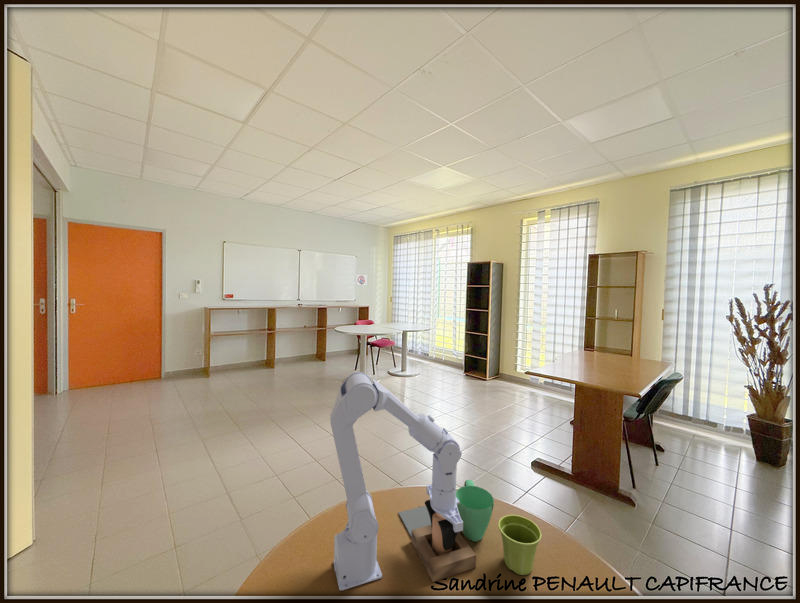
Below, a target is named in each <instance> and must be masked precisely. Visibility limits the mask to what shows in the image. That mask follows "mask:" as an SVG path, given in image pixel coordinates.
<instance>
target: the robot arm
mask: <svg viewBox="0 0 800 603" xmlns="http://www.w3.org/2000/svg"><path fill="white" fill-rule="evenodd" d="M372 382H373V383H372ZM335 399H336V400H335V402H334V404H333V407H332V409H331V412H330V416H329V417H330V418H329V419H330V426H331V431H332V436H333V441H334V444H335V450H336V454H337V459H338V462H339V468H340V472H341V477H342V482H343V486H344V490H345V494H346V503H345V508H346V513H347V522H346V526H345V528H344V529H343V530H342V531H340V532H339V533H336V534H335V535H334V538H333V539H334V540H333V541H334V543H333V544H334V545H333V546H334V547H333V554H334V555H333V568H334V573H335V576H336V581H337V586H338V590H339V591H346V590H348V589H351V588H354V587H357V586H361V585H363V584H367V583H370V582H372V581H373V582H374V581H377V580H380V579H382V578H383V573H382V570H381V568H380V565H379V562H378V560H377V558H378V557H377V555H378V554H377V551H378V550H377V548H378V546H377V545H378V532H379V522H378V519H377V517H376V512H375V509H374V504H373V502H374V500H373V496H372V495H371V494H370V493H369V492H368V490H367V488H366V483H365V478H364V473H363V468H362V463H361V458H360V454H359V450H358V445H357V440H356V436H355V431H354V428H353V427H354V424H355V423H356V422H357V421H358V420H359V419H360V418H362V416H363V415H365V414H366V413H368V412H369V411H371V410H373V412H379V411H382V410H383V411H384V410H385V411H386V412H387V413H389V414H391V415H392V416H393V417H395V419H397V420H398V421H400V422H402V423H403V424H405V425H406V426H407V428H408V433H409V434H408V435H410V437H412V438H413V439H414V440H415V441H416V442H417V443H419V444H421V446H423V447H424V448H425V449H427V451H429V452H432V453H433V454H432V468H431V470H432V474H431V476H432V477H431V484H429V485H426V494H427V495H428V498H429V499H427V500H425V501H424V506H426V507H427V510H428V513H429V516H430V520H431V526H432V520H433V514H434V513H435V512H437V513H438V514H440V515H441V516H442V517H444V518H445V519H446V520H441V521H438V524H439V526H440V529H441V532H442V542H443V548H444V550H445V551H446V550H449V549H452V548H453V545H454V542H455V538H456V536H457V534H458V532H459V533H460V532H463V521H462V520H461V518H460V515H459V511H458V508H457V505H458V504H459V500H458V499H457V497H456V491H457V470H458V469H457V465H458V462H459V461H460V460H461V458H462V455H463V452H462V450H461V447H460V445H459V443H458V442H457V441H456V440H455V439H454V437H453V436H452V435H451V434H450V433H449V431H448V430H447V429H446V428H445V427H443V428H442V427H441V426H439V425H438V424H437V423H436V422H435V419H434V417H433V416H431V414H429V415H426V414H424V413H419V414H416V413H415V412H414V411H412V409H411V408H409V407H408V406H407V405H406V404H405V403H404V402H402V401H401V400H400V399H399V398H398V397H397V396H396V395H394V394H393V393H392V392H391V391H390V390H389V389H388V388H386V387H385V386H383V385H382V384H381V383H379V382H378V381H377V380H375V379H373V378H372V379H371V377H370V376H369V375H368V374H367V373H365V372H362V371H355V372H352V373H351V374H350V375H348V377H346V378H345V379H344V381H343V382H342V383H341V384H340V387H339V391H338V394H337V396H336V398H335Z"/></svg>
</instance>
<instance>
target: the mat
mask: <svg viewBox="0 0 800 603" xmlns="http://www.w3.org/2000/svg"><path fill="white" fill-rule="evenodd" d="M398 516H399V518H400V519H401V521H402V523H403V525H404V526H405V529H406V531H407V532H408V534H409V536H410V537H411V533H412V530H414V529H417V528H421V527H425V526H428V525H431V520H430V516H429V513H428V510H427V507H426V505H423V506H418V507H415V508H410V509H407V510H403V511H399V512H398Z"/></svg>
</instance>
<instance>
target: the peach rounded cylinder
mask: <svg viewBox="0 0 800 603" xmlns="http://www.w3.org/2000/svg"><path fill="white" fill-rule="evenodd" d="M441 520H446V519H445V518H444V517H442V516H441V515H440V514H438V513H437V512H435V513H434V514H433V520H432V545H431V548H432V550H433V552H434V553H435V555H436V557H437V556H440V555H443V554H446V553H449V552H453V551H454V550H453V548H452V549H449V550H446V551H445V550H444V548H443V542H442V532H441V529H440V526H439V524H438V521H441Z"/></svg>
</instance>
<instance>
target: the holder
mask: <svg viewBox="0 0 800 603" xmlns="http://www.w3.org/2000/svg"><path fill="white" fill-rule="evenodd" d="M410 539H411V540H410V541H411V544H412V546H413V547H414V549H416V550H415V551H416V553H417V555H418V557H419V559H420V561H421V563H422V565H423V566H424V568H425V570H426V572H427V575H428V576H429V578H430V580H431V582H432V583H434V582H437V581H441V580H444V579H446V578H449V577H452V576H455V575H458V574H462V573H463V572H467V571H471V570H472V569H476V568H477V554H476V553H475V552H474V550H473V549H472V547H471V546H470V544H468V542H467V541H466V539H465V538H464V536H462V533H461V532H460V531H459V532H458V534H457V536H456V538H455V542H454V545H453V552H449V553H446V554H443V555H440V556H437V557H436V555H435V553H434V552H433V550H432V526H431V525H428V526H425V527H421V528H417V529H414V530H412V533H411V536H410Z"/></svg>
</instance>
